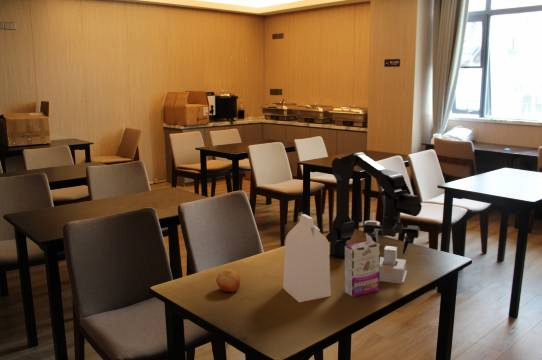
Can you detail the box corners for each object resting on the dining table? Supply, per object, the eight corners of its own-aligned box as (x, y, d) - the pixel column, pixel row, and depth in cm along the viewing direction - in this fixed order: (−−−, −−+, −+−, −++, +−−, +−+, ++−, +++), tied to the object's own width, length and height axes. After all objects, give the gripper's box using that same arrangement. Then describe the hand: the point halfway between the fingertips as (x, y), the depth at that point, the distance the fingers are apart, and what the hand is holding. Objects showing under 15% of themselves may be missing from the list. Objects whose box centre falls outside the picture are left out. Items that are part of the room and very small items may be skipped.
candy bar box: (370, 285, 177) (371, 239, 174) (379, 291, 173) (381, 243, 169) (343, 292, 172) (344, 244, 169) (352, 297, 168) (353, 249, 164)
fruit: (246, 280, 178) (241, 266, 173) (239, 300, 173) (233, 285, 168) (224, 278, 181) (219, 263, 176) (217, 296, 175) (211, 282, 170)
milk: (283, 288, 175) (282, 213, 170) (313, 282, 180) (314, 210, 175) (298, 302, 165) (299, 223, 159) (330, 296, 169) (331, 219, 164)
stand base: (371, 280, 182) (371, 266, 181) (376, 268, 192) (376, 256, 191) (403, 284, 178) (404, 270, 177) (407, 272, 188) (407, 259, 187)
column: (382, 274, 184) (383, 249, 182) (384, 270, 188) (385, 245, 186) (395, 276, 182) (396, 250, 180) (396, 272, 186) (397, 246, 184)
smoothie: (380, 246, 216) (381, 214, 214) (365, 247, 216) (365, 214, 214) (377, 242, 223) (378, 210, 220) (362, 242, 223) (363, 210, 220)
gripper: (360, 213, 176) (359, 257, 179) (417, 218, 170) (415, 263, 173) (366, 205, 186) (365, 247, 190) (420, 210, 180) (418, 253, 183)
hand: (390, 252), depth 184 cm, fingers open, 9 cm apart
